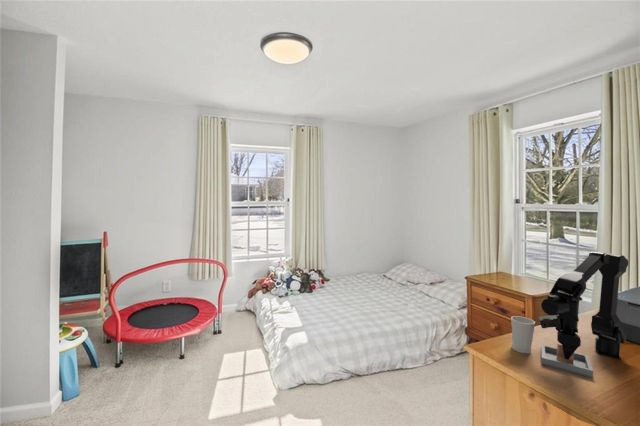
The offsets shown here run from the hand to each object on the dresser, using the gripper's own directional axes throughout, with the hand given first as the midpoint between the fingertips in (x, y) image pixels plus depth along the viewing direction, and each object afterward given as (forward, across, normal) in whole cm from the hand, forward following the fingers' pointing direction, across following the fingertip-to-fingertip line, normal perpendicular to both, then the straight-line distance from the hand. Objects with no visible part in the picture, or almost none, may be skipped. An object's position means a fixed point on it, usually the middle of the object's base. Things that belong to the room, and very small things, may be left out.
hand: (565, 353), depth 112 cm
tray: (+4, 0, 0) cm, 4 cm away
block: (+3, 0, 0) cm, 3 cm away
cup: (+4, -2, -14) cm, 14 cm away
